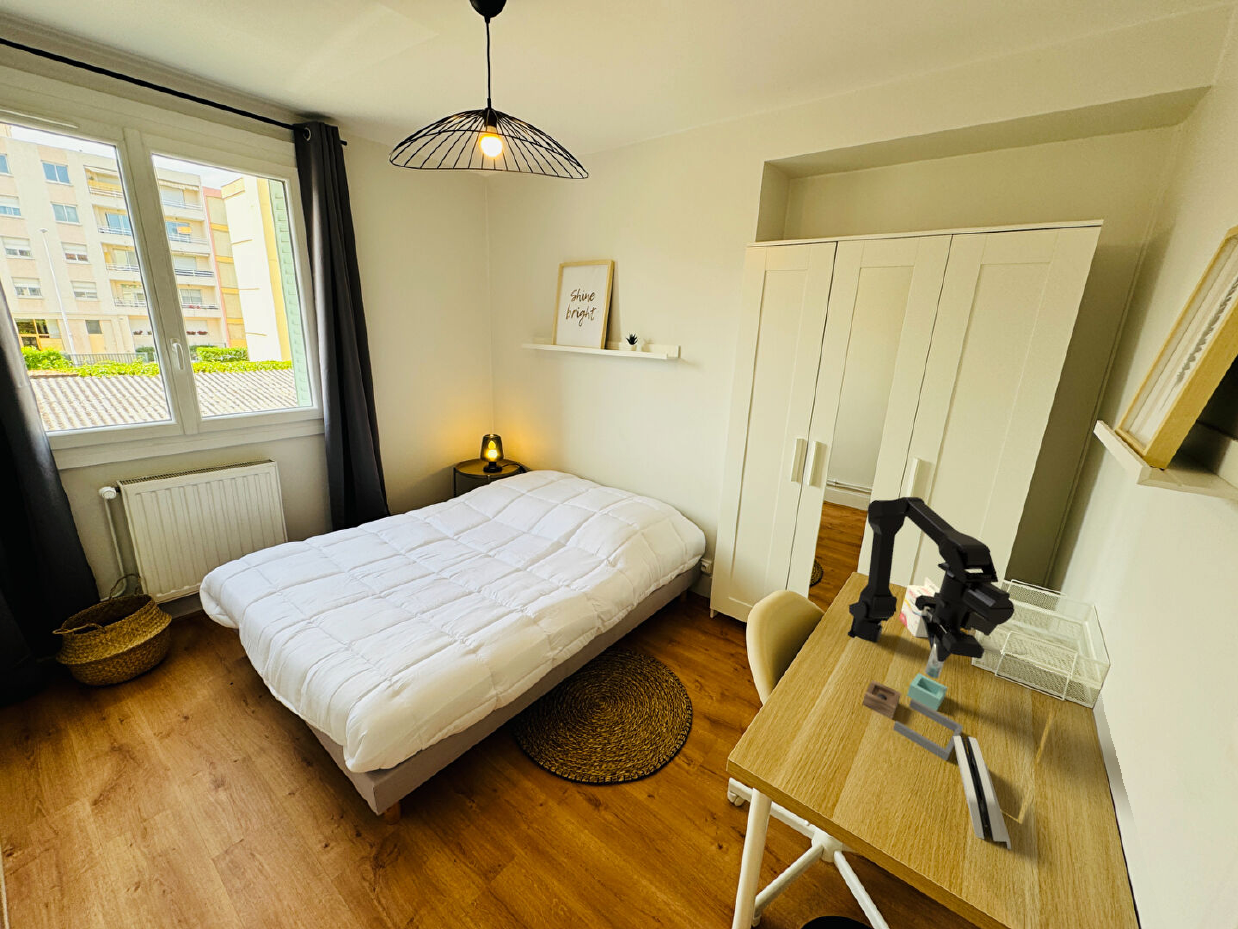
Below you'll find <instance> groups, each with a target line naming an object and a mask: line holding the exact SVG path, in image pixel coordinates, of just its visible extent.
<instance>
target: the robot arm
mask: <svg viewBox="0 0 1238 929" xmlns="http://www.w3.org/2000/svg"><path fill="white" fill-rule="evenodd" d="M906 517H907V518H908V519H909V520H910V521H911V522H912V523H914V524H915V525H916V527H918V528H919V529H920V530H921V531H922V532H923V533H924V534H925V535H927V536H928V538H930V540H932V541H933V542H934V543H935V544H936V546H937V549H938V554H939V555H940V556H941V558H942V559H943V560H944V562H941V563H938V564H937V567H938V568H939V569H941V570H943V571H944V576H943V579H942V583H941V586H940V588H939V589H940V592H939V593H937V592H936V591H935V594H934V597H932V596H925V595H921V596H919V597H917V598H916V601H915V606H916V607H917V608H918V610H919V611H922V610H924V608H925V607H929V608H930V609H926V611H927V614H926V616H924V615H923V616H922V619H923V621H924V625H925V628H926V632H927V635H928V637H927V640H928V642H929V646H930V651H931V650H932V646H933V643H934V642H933V639H934V637H935V644H936V654H937V660H938V661H940V662H944V663H945V661H946V660H947V659H948V658H949V657H950V656H951V655H954V656H961V657H967V658H974V659H980V660H981V659H982V658H983V656H984V653H985V649H984V647H983V645H981V644H980V642H979V641H978V640H977V639H976V637H975V638H974V636H973V635H969V634H968V633H967V632H965V631H968V630H970V631H971V628H973V629H976V631H978V632H980V633H982V634H983V635H984V636H986V637H989V636H990V635H991V634H992V633H993V631H994V630H995V629H996V628H997V626H1000V625H1003V624H1004V623H1007V622H1008V621H1009V620H1010V619H1011V618H1012V617H1013V616H1014V613H1015V605H1014V603H1013V601H1012V600H1011V599H1010V595H1011V593H1009V592H1008V591H1007V590H1004V589H1002V588H999V587H998V586H996V585H995V584H993V583H998V582H999V578H998V575H997V571H996V568H995V566H994V562H993V558H992V555H991V550H990V548H989V547H988V545H986V544H985V543H983V542H982V541H980V540H979V539H977V538H975V537H973V536H971V535H968V534H965V533H963V532H960V531H958V530H957V529H955V528H954V527H953V526H952V525H950V523H949V522H947V521H946V520H945V519H944V518H942V517H941V516H940V515H939V514H938V513H937V512H936V511H934V510H933V509H932V508H931V507H929V505H927V504H926V503H925V500H923V498H921V497H918V496H903V497H899V498H895V499H874V500H873V501H871V502H870V503H869V504H868V507H867V520H868V521H867V522H868V524H869V526H870V528H871V529H872V534H873V535H872V544H871V552H870V562H869V571H868V579H867V580H868V582H867V584H866V585H865V587H864V588H863V589H862V590H861V592H860V594H859V598H858V601H857V602H854V603H851V604H849V605H848V612H849V614H850V615H851V616H852V620H851V626H850V630H849V631H848V632H847V636H849V637H851V638H854V639H855V637H857V638H859V639H860V640H864V641H869V642H873V643H878V641H879V640H881V636H882V635H881V634H882V632H883V625H882V623H883V622H888V621H889V619H891V618H892V617H894V615H895V613H897V602H898V598H897V596H894V594H893V593H892V591H891V589H890V584H891V583H890V582H891V575H892V573H891V572H892V567H893V558H894V547H895V540H896V535H897V533H898V532H900V530H901V529H902V527H903V526H904V524H905V519H906ZM968 570H981V572H970V571H968ZM961 629H963V630H965V631H963V630H961Z"/></svg>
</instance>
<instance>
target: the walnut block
mask: <svg viewBox="0 0 1238 929" xmlns="http://www.w3.org/2000/svg"><path fill="white" fill-rule="evenodd" d="M901 695H902V693H901V692H900V691H897V690H895V689H894V688H892V687H889V686H887V685H885V684H882V683H880V682H878V681H877V680H874V679H872V680H871V681H870V683H869V685H868V687H867V690H866V691H865V693H864V696H863V701H862V706H864V707H866V708H868V709H870V710H872V711H874V712H876V713H878V714H880V715H882V716H884V717H885V718H887V719H890V720H893V718H894V715H895V712H896V710H897V708H898V705H899V702H900V699H901V697H902V696H901Z"/></svg>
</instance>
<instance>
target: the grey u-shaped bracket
mask: <svg viewBox="0 0 1238 929" xmlns="http://www.w3.org/2000/svg"><path fill="white" fill-rule="evenodd" d="M908 707H909V708H911V709H912V710H913V711H916V712H918V713H920V714H921V715H923V716H925V717H926V718H929V719H930V720H932V721H933V722H936V723H937V724H940V725H941V726H943V727H945V728H947V729H949V730H950V731H952V732H953V734H952V736H951V738H950V739H949V742H948V743H947V745H946V747H945V748H944V747H942V746H941V745H939V744H938V743H936V742H934V741H933V740H930V739H928V738H927V737H926V736H923V735H922V734H920V733H918V732H917V731H915V730H913V729H912V728H910V727H908V726H906V725H905V724H903V723H902V722H900V721H898V720H895V722H894V725H893V727H892V728H893V729H892V730H894V731H895V732H897V733H898V734H900V735H902V736H903V737H905V738H906V739H909V740H910V741H912V742H913V743H915V744H917V745H919V746H920V747H922V748H923V749H925V750H927V751H928V752H931V754H934V755H935V756H936V757H938V758H940V759H942V760H944V761H945V762H947V761H948V759H949V757H950V755H951V754H952V751H953V750H954V748H955V744H954V738H953V736H961V734H962V731H963V728H964V725H963V724H960V723H959V722H957V721H955V720H953V719H951V718H949V717H948V716H945V715H943V714H942V713H940V712H938V711H935V710H933V709H931V708H929V707H928V706H926V705H924V704H922V703H920V702H918V701H916V700H914V699H913V698H911V699H910V702H909V705H908Z"/></svg>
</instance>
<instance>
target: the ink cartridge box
mask: <svg viewBox="0 0 1238 929" xmlns="http://www.w3.org/2000/svg"><path fill="white" fill-rule="evenodd" d="M932 587H933V588H932ZM940 589H941V588H939V587H938V586H937V585H936V584H935V583H934V582H933V581H931V580H930V579H929V578H928V577H927V576H925V577H924V584H923V585H918V584H917V585H913V584H907V587H906V591H905V596H904V599H903V602H902V603H903V604H902V605H901V606H902V607H901V610H900V615H899V618H898V619H899V620H900V622H901V623H902V624H903V625H904V626H905V627H906V628H907V629H908V631H909V632H910V633H911V634H912V635H913V637H915V638H928V635H927V632H926V628H925V625H924V621H923V619H922V616H923V615H924V616H926V614H927V611H926V609H930V608H929V607H925V608H924V610H922V611H919V610H918V608H917V607H916V606H915V601H916V598H917V597H919V596H921V595H925V596H932V597H934V594H935V592H937V593H939V592H940Z"/></svg>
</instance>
